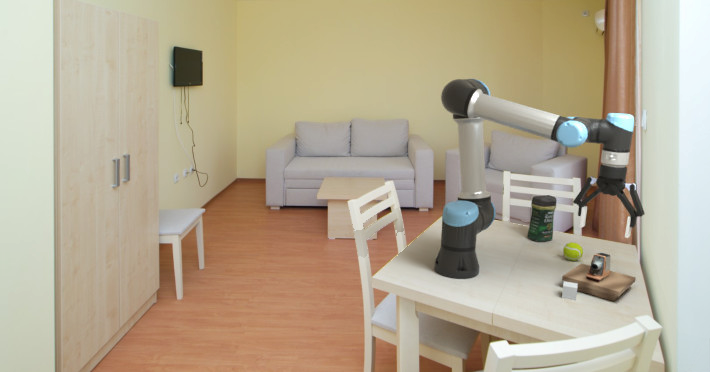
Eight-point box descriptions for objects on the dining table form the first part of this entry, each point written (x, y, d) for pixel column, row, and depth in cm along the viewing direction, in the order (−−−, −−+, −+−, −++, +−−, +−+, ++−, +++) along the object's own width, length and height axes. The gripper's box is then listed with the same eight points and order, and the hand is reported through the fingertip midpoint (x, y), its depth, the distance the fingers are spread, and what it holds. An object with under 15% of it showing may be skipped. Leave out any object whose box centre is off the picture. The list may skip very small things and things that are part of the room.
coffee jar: (537, 243, 210) (542, 198, 206) (524, 237, 217) (528, 194, 213) (556, 240, 214) (561, 196, 210) (542, 235, 221) (546, 192, 217)
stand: (561, 287, 167) (562, 275, 166) (580, 274, 178) (581, 263, 177) (617, 304, 156) (619, 291, 155) (634, 289, 167) (635, 277, 166)
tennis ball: (564, 262, 189) (566, 245, 188) (560, 256, 196) (562, 239, 194) (583, 264, 188) (586, 246, 187) (579, 257, 195) (581, 240, 193)
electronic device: (584, 279, 164) (587, 256, 162) (595, 271, 170) (598, 249, 169) (599, 283, 161) (602, 260, 159) (610, 275, 167) (613, 253, 166)
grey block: (561, 298, 159) (563, 285, 159) (562, 293, 163) (563, 281, 162) (575, 300, 158) (577, 288, 157) (576, 295, 161) (577, 283, 161)
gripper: (567, 160, 164) (559, 224, 169) (656, 172, 147) (644, 244, 152) (577, 157, 169) (569, 220, 174) (663, 169, 153) (651, 238, 157)
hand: (604, 231), depth 163 cm, fingers open, 13 cm apart
